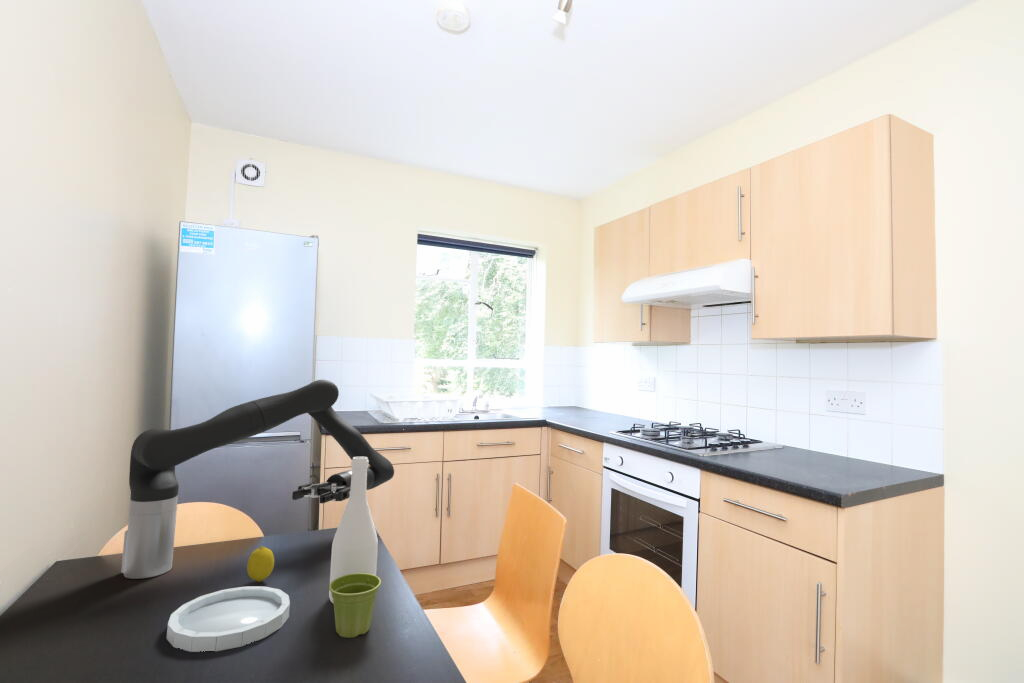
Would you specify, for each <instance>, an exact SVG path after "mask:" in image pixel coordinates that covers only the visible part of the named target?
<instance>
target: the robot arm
mask: <svg viewBox="0 0 1024 683" xmlns="http://www.w3.org/2000/svg"><path fill="white" fill-rule="evenodd" d="M339 393H340V392H339V388H338V386H337V385H336V384H335V383H334V382H332V381H331V380H327V379H317V380H315V381H313V382H309V383H308V384H307V385H305V386H302V387H299V388H297V389H294V390H292V391H288V392H285V393H278V394H274V395H270V396H265V397H262V398H257V399H254V400H250V401H247V402H244V403H241V404H238V405H237V404H236V405H234V406H232V407H229V408H227V409H225V410H223V411H222V412H220V413H218V414H216V415H215V416H213V417H211V418H209V419H208V420H205V421H203V422H201V423H197V424H192V425H190V426H186V427H182V428H181V427H180V428H176V429H165V428H161V427H160V428H157V427H155V428H149V429H147V430H144V431H142V433H140V434H139V435H138V436H137V437H136V438H135V439H134V441H133V444H132V446H131V450H130V460H129V474H128V475H129V478H128V479H129V480H128V485H129V490H130V498H129V499H130V500H129V509H128V521H127V530H125V532H124V535H123V536H124V537H123V546H122V557H121V558H122V560H121V570H120V573H121V574H123V576H124V578H126V579H130V580H131V579H132V580H133V579H148V578H153V577H157V576H161V575H163V574H166V573H167V572H169V571H170V570H172V568H173V559H174V558H173V556H174V550H175V549H174V548H175V535H176V534H175V533H176V524H177V514H178V513H177V511H178V500H179V498H178V496H179V490H180V488H179V483H178V480H177V477H176V466H179V465H180V464H183V463H185V462H186V461H189V460H191V459H193V458H195V457H198V456H199V455H202V454H205V453H206V452H208V451H212V450H214V449H217V448H221V447H224V446H228V445H230V444H234V443H236V442H239V441H242V440H245V439H248V438H252V437H254V436H257V435H259V434H262V433H265V432H267V431H270V430H271V429H274V428H276V427H278V426H280V425H282V424H284V423H287V422H288V421H290V420H292V419H294V418H296V417H298V416H301V415H305V414H308V415H309V416H310V417H311V418H313V419H314V421H316V422H317V423H318V424H319V425H320V426H321V427H322V428H323V429H324V430H325V431H327V433H328V434H329V435H330V436H331V437H332V438H333V439H334V440H335V441H336V442H337V444H338V445H339V446H340V447H341V448H342V450H343V451H344V452H345V453H346V455H347V456H348V457H349V458H350V459H351V461H352V460H353V457H367V458H368V460H369V464H368V468H367V486H366V491H368V490H372V489H375V488H377V487H379V486H381V485H383V484H384V483H386V482H389V481H390V480H392V479H393V477H394V475H395V469H394V466H393V464H392V462H391V461H390V460H389V459H388V458H386V457H385V456H383V455H382V454H381V453H380V452H378V451H377V450H375V448H373V447H372V446H371V444H370V443H369V442H368V441H367V439H366V438H365V436H363V435H362V433H361V432H360V431H359V430H358V429H357V428H355V427H354V426H352V425H351V424H350V423H348V422H347V421H346V420H344V419H343V418H342V417H341V416H340V415H339V414H338V413H337V412H336V410H334V408H333V406H334V405H335V403H336V402H337V401H338V399H339ZM351 476H352V469H347V470H345V471H342V472H338V473H333V474H332V475H330V476H329V477H328V478H327V480H326V481H322V482H321V483H316V482H315V481H313V482H309V483H306V484H305V483H304V484H301V485H298V486H297V490H294V491H292V500H293V501H296V500H299V499H303V498H309V497H310V498H312V499H313V498H319V504H325V503H328V502H342V501H345V500H348V499H349V496H350V488H351ZM315 492H316V494H315Z"/></svg>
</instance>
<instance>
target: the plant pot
mask: <svg viewBox="0 0 1024 683" xmlns="http://www.w3.org/2000/svg"><path fill="white" fill-rule="evenodd" d="M381 584H382V580H381V578H380V577H379V576H377V574H376V575H373V574H368V573H355V574H348V575H344V576H341V577H339V578H336V579H335V580H333V581H332V582H331V583H330V582H329V586H328V587H329V588H328V590H329V589H330V591H331V593H332V598H333V603H334V604H333V603H332V604H333V610H334V622H335V632H336V633H337V634H338V636H340V637H342V638H347V639H348V638H350V639H351V638H353V639H354V638H356V637H358V636H360V635H365V634H366V633H367V632H368V631H369V630H370V628H371V623H372V617H373V611H374V607H375V600H376V596H377V593H378V592H379V591H378V590H379V587H380V586H381Z"/></svg>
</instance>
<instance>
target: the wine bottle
mask: <svg viewBox="0 0 1024 683" xmlns="http://www.w3.org/2000/svg"><path fill="white" fill-rule="evenodd" d="M368 466H369V460H368V458H367V457H353V460H351V462H350V468H351V470H352V476H351V488H350V496H349V498H348V499H347V500H348V501H347V503H346V506H345V509H344V510H343V514H342V516H341V519H340V521H339V524H338V527H337V529H336V532H335V534H334V537H333V540H332V544H331V558H330V572H329V584H330V583H331V582H332V581H333V580H335V579H336V578H339V577H341V576H344V575H348V574H355V573H368V574H373V575H376V576H377V566H378V565H377V564H378V549H379V545H378V544H379V540H378V539H379V538H378V534H377V530H376V527H375V524H374V520H373V517H372V512H371V509H370V506H369V502H368V497H367V496H368V495H367V490H366V486H367V468H368ZM328 590H329V592H328V598H329V600H330V603H332V604H333V605H334V603H333V598H332V593H331V591H330V589H329V588H328Z"/></svg>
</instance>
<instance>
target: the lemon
mask: <svg viewBox="0 0 1024 683" xmlns="http://www.w3.org/2000/svg"><path fill="white" fill-rule="evenodd" d="M274 567H275V556H274V553H273V551H272V550H271V549H270V548H267V547H265V546H264V545H263V546H262V545H261V546H260V547H258V548H257V549H255V550H254V551H253V552H251V554H250V555H249V558H248V561H247V565H246V571H247V574H248V576H249V578H250V579H251V580H253V581H256V582H257V583H262V582H263V580H265V579H267V578H268V577H270V575H271V573H272V572H273V570H274Z"/></svg>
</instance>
